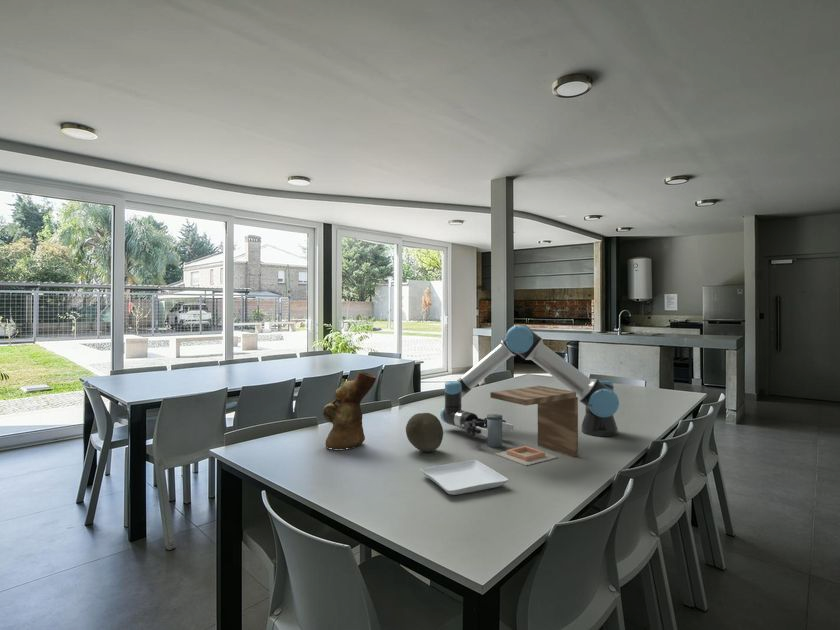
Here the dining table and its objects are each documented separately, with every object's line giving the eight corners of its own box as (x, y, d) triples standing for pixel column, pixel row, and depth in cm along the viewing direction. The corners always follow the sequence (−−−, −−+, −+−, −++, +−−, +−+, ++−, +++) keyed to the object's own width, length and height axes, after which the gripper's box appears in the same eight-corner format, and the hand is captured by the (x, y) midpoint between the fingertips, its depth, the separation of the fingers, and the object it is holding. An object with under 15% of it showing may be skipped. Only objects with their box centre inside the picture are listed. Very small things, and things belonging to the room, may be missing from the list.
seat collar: (525, 447, 186) (525, 442, 186) (557, 457, 173) (557, 452, 173) (495, 454, 177) (495, 449, 177) (526, 466, 164) (526, 460, 164)
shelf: (541, 444, 189) (540, 385, 189) (578, 456, 174) (577, 391, 174) (490, 456, 175) (490, 392, 175) (526, 470, 160) (525, 399, 159)
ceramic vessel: (324, 440, 198) (324, 369, 198) (376, 438, 200) (376, 368, 200) (321, 451, 182) (320, 374, 182) (377, 449, 185) (376, 373, 185)
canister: (495, 442, 193) (495, 413, 193) (505, 446, 188) (505, 416, 188) (483, 444, 190) (483, 415, 190) (494, 448, 185) (494, 418, 185)
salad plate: (448, 501, 135) (448, 489, 135) (419, 477, 154) (419, 467, 154) (510, 490, 143) (510, 478, 143) (475, 468, 162) (475, 459, 162)
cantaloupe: (435, 445, 190) (435, 408, 190) (448, 455, 177) (448, 415, 177) (402, 448, 186) (401, 410, 186) (412, 459, 172) (412, 418, 172)
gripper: (488, 425, 211) (522, 435, 193) (443, 433, 197) (476, 445, 180) (488, 408, 211) (522, 417, 193) (443, 415, 197) (475, 425, 180)
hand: (500, 430), depth 186 cm, fingers open, 13 cm apart
